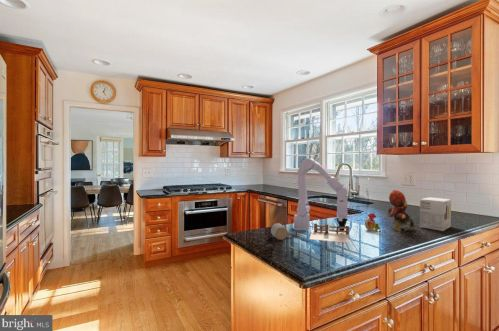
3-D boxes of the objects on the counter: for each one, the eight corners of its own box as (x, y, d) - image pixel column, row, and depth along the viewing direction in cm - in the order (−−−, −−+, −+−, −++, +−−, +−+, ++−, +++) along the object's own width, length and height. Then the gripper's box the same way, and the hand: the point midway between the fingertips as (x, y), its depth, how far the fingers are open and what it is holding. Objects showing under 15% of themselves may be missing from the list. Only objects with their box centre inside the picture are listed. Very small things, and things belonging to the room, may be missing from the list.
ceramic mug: (275, 241, 142) (275, 226, 142) (270, 236, 150) (270, 223, 149) (294, 240, 144) (294, 225, 144) (288, 235, 152) (288, 222, 152)
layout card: (309, 240, 143) (309, 238, 143) (312, 230, 164) (312, 229, 164) (349, 243, 137) (349, 242, 137) (347, 232, 158) (347, 231, 158)
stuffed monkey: (409, 231, 154) (398, 189, 159) (384, 232, 169) (375, 193, 174) (425, 227, 161) (414, 186, 165) (399, 228, 176) (390, 190, 180)
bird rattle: (373, 235, 159) (383, 228, 163) (367, 219, 158) (378, 212, 161) (365, 233, 165) (375, 226, 168) (359, 217, 163) (369, 210, 167)
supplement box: (444, 231, 161) (444, 201, 161) (419, 227, 171) (419, 199, 171) (451, 226, 173) (451, 198, 172) (427, 223, 183) (427, 196, 182)
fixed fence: (313, 232, 157) (313, 224, 157) (314, 231, 159) (314, 223, 159) (328, 233, 155) (328, 225, 155) (328, 232, 156) (328, 224, 156)
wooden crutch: (329, 233, 155) (329, 225, 155) (329, 232, 156) (329, 224, 156) (349, 234, 151) (349, 226, 151) (349, 233, 153) (349, 226, 153)
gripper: (347, 210, 147) (347, 234, 148) (351, 206, 160) (350, 229, 161) (334, 209, 151) (334, 233, 151) (338, 205, 164) (338, 227, 164)
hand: (342, 231), depth 156 cm, fingers closed
